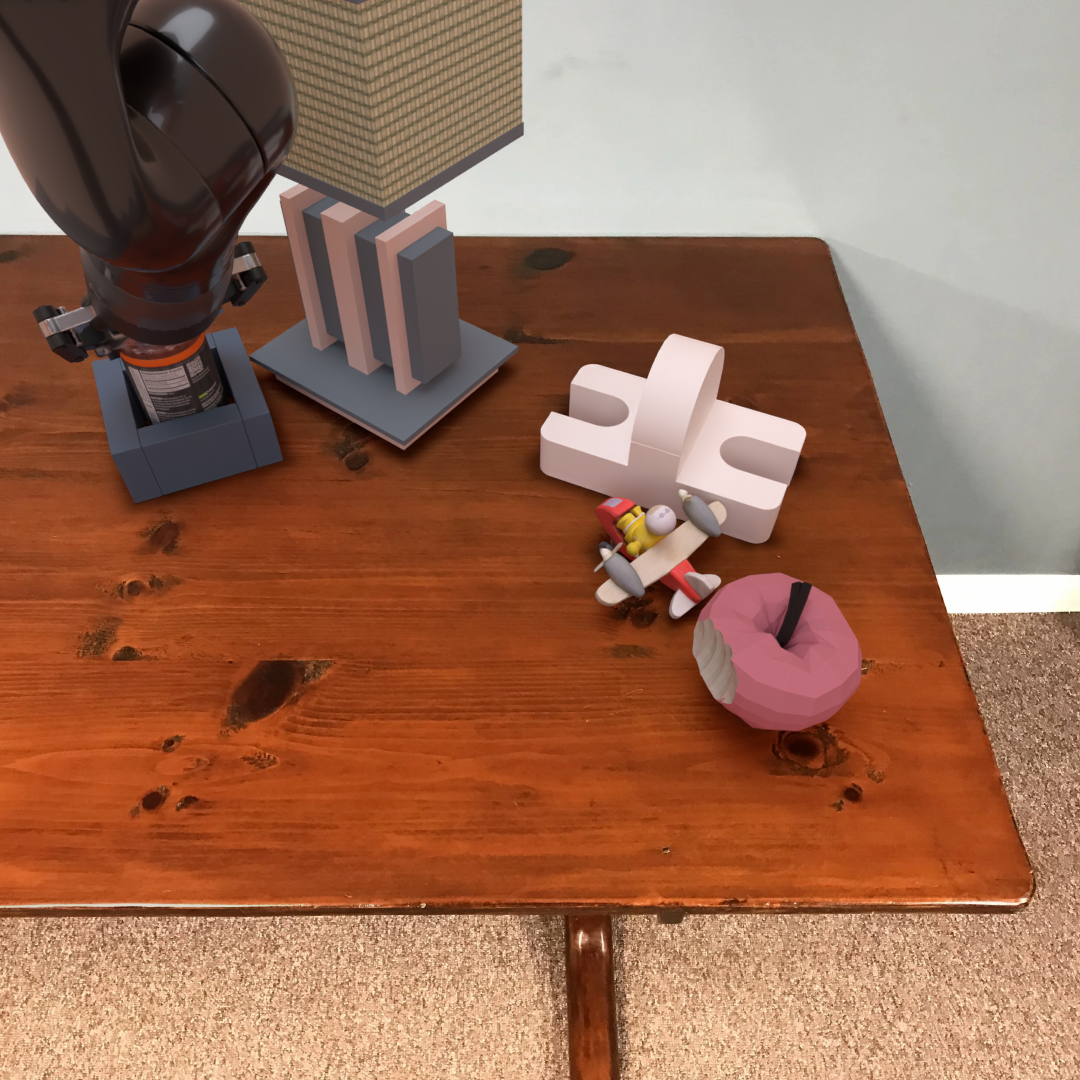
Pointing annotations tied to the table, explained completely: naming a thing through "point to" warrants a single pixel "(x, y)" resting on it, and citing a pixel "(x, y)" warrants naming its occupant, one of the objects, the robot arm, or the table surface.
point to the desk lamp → (388, 198)
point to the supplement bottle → (174, 378)
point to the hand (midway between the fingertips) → (153, 330)
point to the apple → (777, 652)
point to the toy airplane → (656, 550)
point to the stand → (188, 428)
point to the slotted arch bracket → (674, 440)
